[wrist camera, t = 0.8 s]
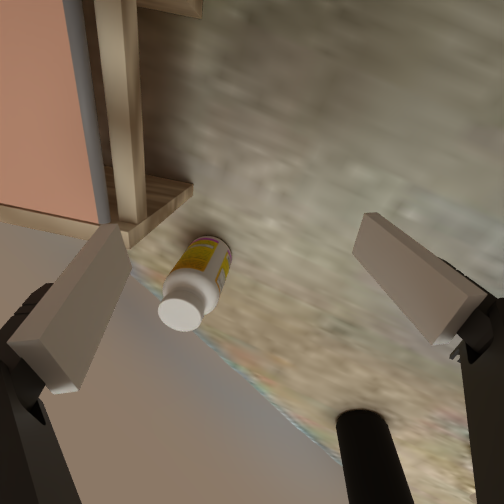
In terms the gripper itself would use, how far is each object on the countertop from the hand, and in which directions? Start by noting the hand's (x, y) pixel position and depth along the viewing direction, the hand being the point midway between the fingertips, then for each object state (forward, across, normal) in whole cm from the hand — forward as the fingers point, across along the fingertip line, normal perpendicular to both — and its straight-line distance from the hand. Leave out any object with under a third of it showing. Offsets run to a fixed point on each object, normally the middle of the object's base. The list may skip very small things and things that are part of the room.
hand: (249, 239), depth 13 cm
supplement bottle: (+19, -3, -14) cm, 24 cm away
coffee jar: (+8, +27, -54) cm, 60 cm away
